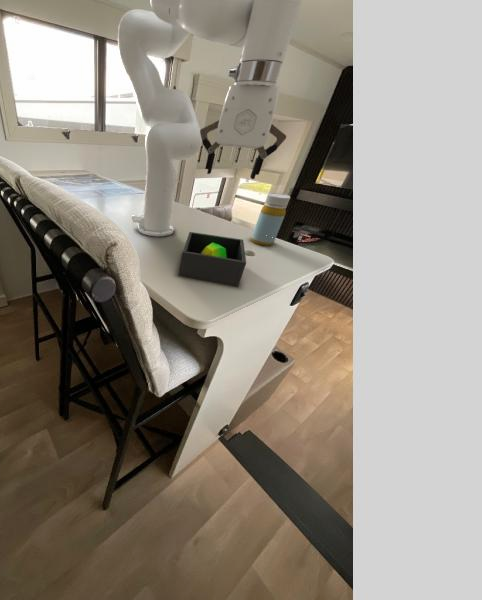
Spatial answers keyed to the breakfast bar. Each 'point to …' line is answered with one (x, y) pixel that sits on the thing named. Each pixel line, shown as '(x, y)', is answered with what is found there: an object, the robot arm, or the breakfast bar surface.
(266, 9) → the robot arm
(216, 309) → the breakfast bar surface
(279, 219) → the bottle
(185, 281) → the breakfast bar surface
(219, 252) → the apple
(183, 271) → the bin
